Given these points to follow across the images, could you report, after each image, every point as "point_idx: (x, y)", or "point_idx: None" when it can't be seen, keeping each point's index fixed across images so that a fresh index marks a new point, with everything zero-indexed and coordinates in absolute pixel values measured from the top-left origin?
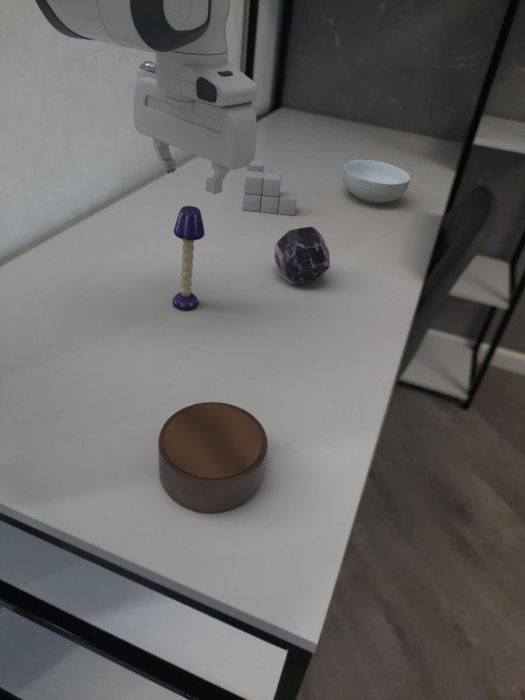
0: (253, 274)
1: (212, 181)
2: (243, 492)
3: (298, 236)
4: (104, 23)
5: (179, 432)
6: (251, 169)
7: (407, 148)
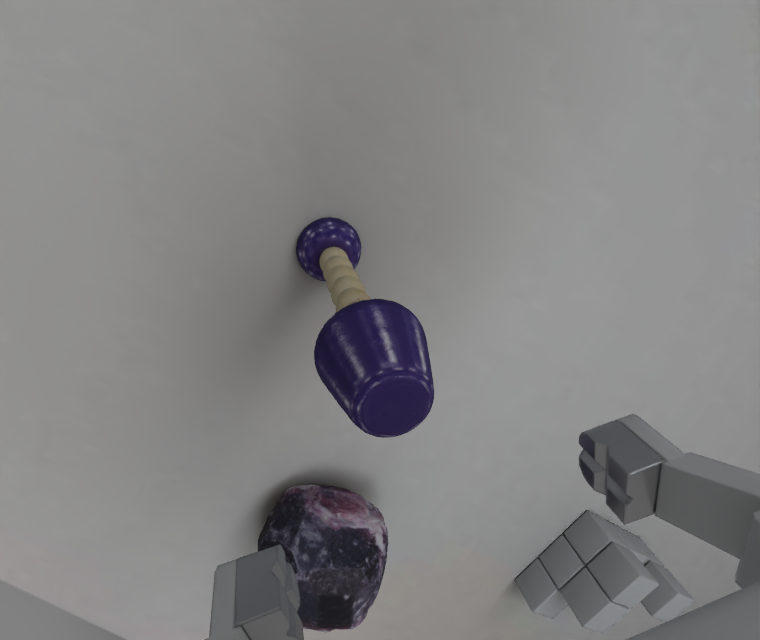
0: (368, 435)
1: (219, 633)
2: None
3: (319, 592)
4: None
5: None
6: (663, 590)
7: None
